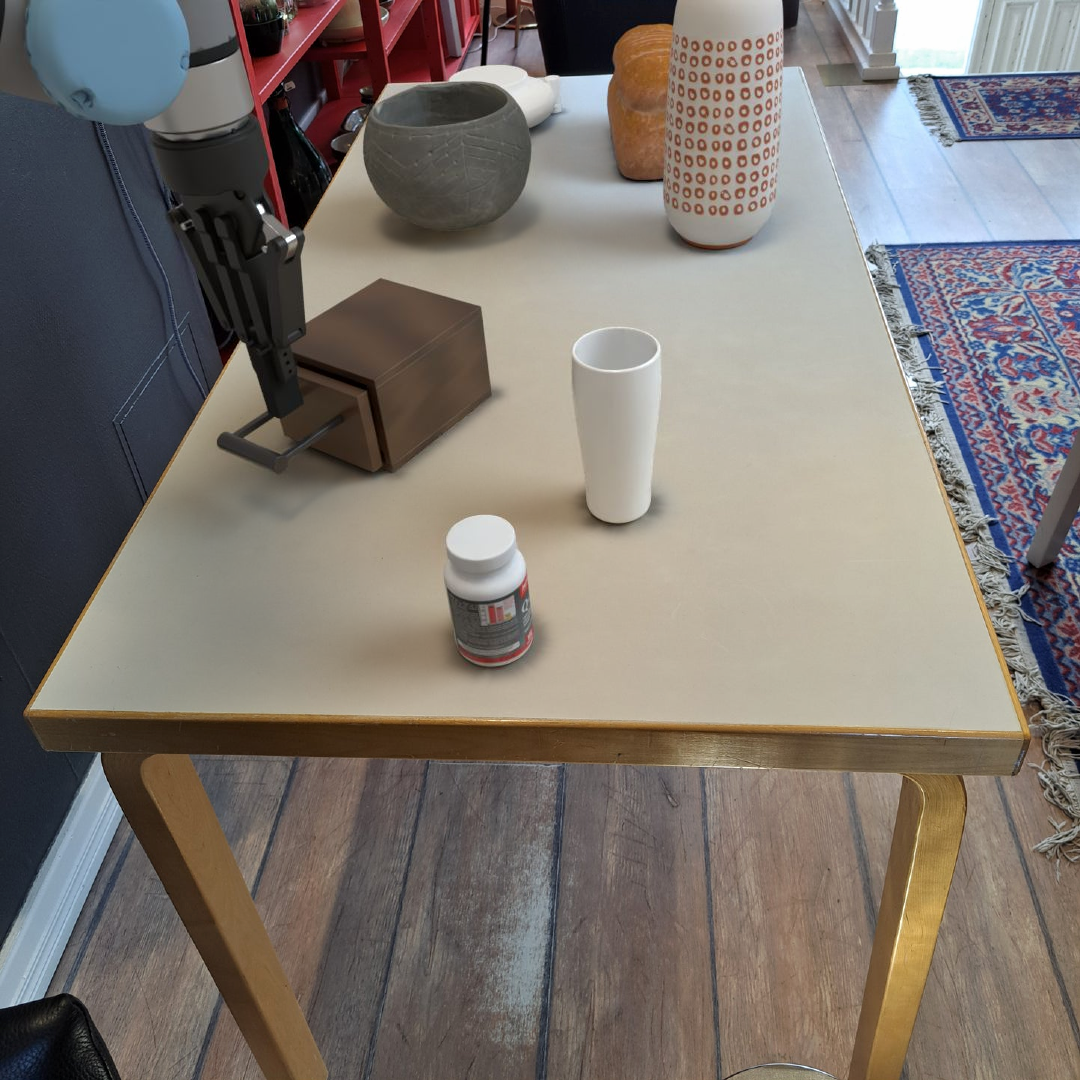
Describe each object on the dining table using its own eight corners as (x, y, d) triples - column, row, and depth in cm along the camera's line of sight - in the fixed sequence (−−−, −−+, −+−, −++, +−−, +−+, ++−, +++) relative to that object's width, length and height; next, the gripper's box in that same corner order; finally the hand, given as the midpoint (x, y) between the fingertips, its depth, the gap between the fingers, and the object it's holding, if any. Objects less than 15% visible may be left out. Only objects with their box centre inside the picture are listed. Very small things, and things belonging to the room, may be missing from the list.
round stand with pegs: (443, 161, 146) (436, 112, 141) (400, 116, 163) (393, 71, 159) (590, 131, 152) (589, 82, 147) (534, 90, 169) (531, 45, 164)
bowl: (520, 257, 119) (509, 131, 110) (356, 256, 123) (331, 133, 113) (548, 190, 135) (541, 74, 125) (402, 190, 139) (384, 77, 129)
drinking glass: (615, 543, 78) (612, 382, 69) (561, 505, 83) (551, 348, 73) (676, 506, 81) (681, 347, 72) (621, 471, 86) (618, 316, 76)
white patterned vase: (751, 265, 114) (771, -7, 95) (645, 248, 119) (645, -12, 101) (787, 220, 122) (812, -38, 104) (686, 206, 128) (693, -41, 109)
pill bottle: (546, 653, 70) (536, 549, 64) (471, 680, 69) (453, 576, 62) (516, 602, 74) (504, 500, 68) (445, 627, 73) (426, 524, 66)
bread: (691, 116, 154) (694, 8, 144) (714, 179, 134) (720, 59, 124) (605, 122, 154) (602, 16, 144) (615, 186, 134) (613, 67, 124)
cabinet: (393, 472, 88) (374, 380, 82) (295, 433, 94) (270, 344, 87) (491, 395, 96) (481, 306, 90) (396, 363, 102) (380, 277, 96)
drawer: (306, 525, 82) (283, 448, 76) (216, 483, 87) (189, 408, 82) (468, 399, 94) (458, 326, 89) (381, 369, 100) (367, 299, 95)
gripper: (308, 116, 67) (372, 408, 82) (184, 94, 73) (266, 369, 88) (223, 154, 62) (309, 454, 78) (100, 126, 68) (201, 410, 84)
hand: (286, 408), depth 83 cm, fingers closed
